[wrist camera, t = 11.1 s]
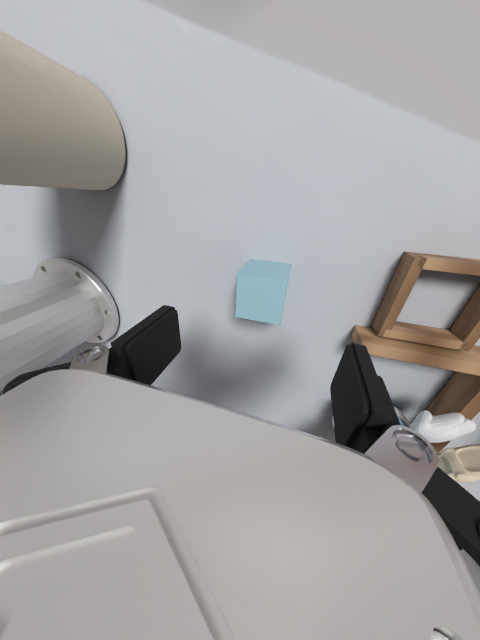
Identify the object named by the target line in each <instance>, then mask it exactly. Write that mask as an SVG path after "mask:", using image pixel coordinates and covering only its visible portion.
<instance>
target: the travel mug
mask: <svg viewBox="0 0 480 640" xmlns="http://www.w3.org/2000/svg"><path fill="white" fill-rule="evenodd" d="M124 164H125V142H124V136H123V132H122V128H121V125H120V122H119V119H118V117H117V115H116V113H115V111H114V109H113V107H112V105H111V103H110V102H109V100H108V99H107V98H106V96H105V95H104V94H103V93H102V91H101V90H100V89H99V88H98V87H97V86H96V85H94V84H93V83H92V82H90V81H89V80H87V79H85V78H83V77H82V76H80V75H78V74H76V73H75V72H73V71H71V70H69V69H68V68H66V67H64V66H62V65H61V64H59V63H57V62H55V61H54V60H52V59H50V58H48V57H47V56H45V55H43V54H41V53H40V52H38V51H36V50H34V49H33V48H31V47H29V46H27V45H26V44H24V43H22V42H20V41H19V40H17V39H15V38H13V37H12V36H10V35H8V34H6V33H5V32H3V31H1V30H0V184H3V185H20V186H36V187H53V188H69V189H85V190H106V189H109V188H111V187H112V186H114V185H115V184H116V183H117V182H118V180H119V179H120V177H121V175H122V172H123V169H124Z"/></svg>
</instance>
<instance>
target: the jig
mask: <svg viewBox="0 0 480 640" xmlns="http://www.w3.org/2000/svg"><path fill="white" fill-rule="evenodd" d="M422 269H425V270H434V271H442V272H451V273H460V274H468V275H477V276H480V260H478V259H469V258H459V257H449V256H440V255H430V254H420V253H410V252H404V254H403V256H402V258H401V260H400V263H399V265H398V267H397V269H396V272H395V274H394V276H393V278H392V281H391V283H390V285H389V287H388V290H387V292H386V294H385V296H384V299H383V301H382V303H381V306H380V308H379V310H378V312H377V315H376V317H375V319H374V321H373V324H372V326H373V328H368V327H362V326H356V325H355V327H354V330H353V332H352V338H353V341H354V343H355V344H360V345H365V346H366V347H367V350H368V353H369V355H374V356H379V357H385V358H390V359H395V360H400V361H405V362H411V363H416V364H421V365H426V366H431V367H437V368H442V369H447V370H452V371H455V373H454V374H453V375H452V377H451V378H450V379H449V380H448V382H447V383H446V384H445V386H444V387H443V388H442V389H441V391H440V392H439V393H438V395H437V396H436V397H435V398H434V400H433V401H432V402H431V404H430V405H429V406H428V407H427V409H426V411H429V412H430V413H431V415H432V416H437V415H443V414H448V413H453V412H454V413H461V414H462V415H463V416H464V417H465V418H466V419H470V420H472V419H473V418H474V417H475V416H476V415H477V414H478V413H479V412H480V346H474V344H475V343H476V342H477V341H478V339H479V338H480V285H479V287H478V288H477V290H476V291H475V293H474V294H473V296H472V297H471V299H470V300H469V302H468V303H467V305H466V306H465V308H464V309H463V311H462V312H461V314H460V315H459V316H458V318H457V319H456V321H455V322H454V324H453V325H452V327H451V328H450V330H447V329H440V328H434V327H428V326H422V325H416V324H409V323H403V322H397V321H396V320H397V318H398V316H399V314H400V312H401V310H402V308H403V306H404V304H405V302H406V300H407V298H408V296H409V294H410V292H411V290H412V288H413V286H414V284H415V282H416V280H417V278H418V276H419V274H420V272H421V270H422ZM450 441H451V440H450ZM450 441H445V442H440V443H431V444H432V446H433V447H434V448H435V450H436V452H437V453H439V452H440V451H441V450H442V449H443V448H444V447H445V446H446V445H447V444H448V443H449V442H450Z"/></svg>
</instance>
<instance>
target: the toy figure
mask: <svg viewBox="0 0 480 640" xmlns="http://www.w3.org/2000/svg"><path fill="white" fill-rule="evenodd" d="M394 409H395V411H396V414H397V416H398V419H399V421H400V424H401V426H406V427H407V425H408V426H409V428H411V429H413V430H415V431H416V432H418V433H419V434H421V435H422V436H423V437H425V438H426V439H427V440H428V441H429V442H430V443H440V442H445V441H450V440H453V439H456V438H458V437H460V436H462V435H465V434H468V433H471V432H473V431H474V430H475V429H476V424H475V423H474V422H472V421H471V420H470V419H466V418H465V417H464V416H463V415H462V414H461V413H454V412H453V413H448V414H443V415H437V416H432V415H431V413H430V412H429V411H426V410H425V411H421V412H420V413H419V414H418V415H417V417H416V418H415V420H414V422H413V423H411V424H410V423H409V421H408V419H407V418H406V417H405V415H404V414H403V413H402V412H401V411H400V410H398V409H397V408H396V407H394ZM332 424H333V429H334V419H333V417H332ZM406 424H407V425H406ZM334 432H335V429H334ZM438 457H439V465H438V467H439V468H440V469H441V470H443V471H444V472H445V473H446V474H447V475H448V476H450V477H451V478H452V479H453V480H454V481H461V482H472V481H475V480H479V479H480V444H477V445H467V446H462V447H457V448H447V449H444V450H442V451H441V453H438Z"/></svg>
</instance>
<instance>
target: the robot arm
mask: <svg viewBox="0 0 480 640" xmlns="http://www.w3.org/2000/svg"><path fill="white" fill-rule="evenodd" d="M118 324H119V316H118V311H117V307H116V305H115V302H114V300H113V298H112V296H111V295H110V293H109V291H108V290H107V288H106V287H105V286H104V284H103V283H102V282H101V281H100V280H99V279H98V278H97V277H96V276H95V275H94V274H93V273H92V272H90V271H89V270H88V269H86V268H85V267H83V266H82V265H80V264H78V263H76V262H74V261H72V260H68V259H65V258H54V259H49V260H45V261H43V262H41V263H40V264H39V265H38V266H37V267H36V270H35V272H34V278H31V279H27V280H24V281H20V282H17V283H13V284H9V285H0V640H480V502H479V501H478V500H477V499H476V498H475V497H473V496H472V495H471V494H470V493H469V492H468V491H466V490H465V489H464V488H463V487H462V486H460V485H459V484H458V483H457V482H456V481H454V480H453V479H452V478H451V477H450V476H448V475H447V474H446V473H445V472H444V471H443V470H441V469H440V468H439V467H438V465H439V457H438V453H437V452H436V450H435V448H434V447H433V446H432V444H431V443H430V442H429V441H428V440H427V439H426V438H425V437H423V436H422V435H421V434H419V433H418V432H416V431H415V430H413V429H411V428H408V427H406V426H401V424H400V421H399V419H398V416H397V414H396V411H395V409H394V406H393V404H392V401H391V399H390V396H389V394H388V391H387V389H386V386H385V384H384V381H383V379H382V378H381V377H380V376H377V374H376V371H375V369H374V366H373V363H372V361H371V358H370V355H369V353H368V350H367V347H366V346H365V345H360V344H355V343H352V344H351V345H347V346H346V348H345V350H344V353H343V355H342V358H341V360H340V363H339V365H338V368H337V371H336V373H335V376H334V378H333V381H332V383H331V389H330V390H331V400H332V410H333V419H334V429H335V439H336V442H333V441H330V440H328V439H324V438H321V437H318V436H315V435H312V434H309V433H306V432H303V431H300V430H297V429H293V428H290V427H287V426H284V425H281V424H277V423H274V422H271V421H267V420H264V419H261V418H258V417H254V416H251V415H248V414H244V413H241V412H238V411H235V410H231V409H228V408H225V407H221V406H218V405H215V404H211V403H208V402H205V401H201V400H198V399H195V398H191V397H188V396H185V395H181V394H178V393H174V392H171V391H168V390H164V389H161V388H157V387H154V386H150V385H151V384H152V383H153V382H154V381H155V380H156V379H157V377H158V376H159V375H160V374H161V373H162V372H163V371H164V369H165V368H166V367H167V366H168V365H169V364H170V362H171V361H172V360H173V359H174V358H175V357H176V356H177V354H178V353H179V352H180V350H181V340H180V331H179V322H178V313H177V310H175V308H174V307H171V306H166V305H164V306H162V307H161V308H159V309H158V310H156V311H155V312H154V313H152V314H151V315H149V316H148V317H146V318H145V319H144V320H142V321H141V322H139V323H138V324H137V325H135V326H134V327H132V328H131V329H130V330H128V331H127V332H125V333H124V334H122V335H121V336H120V337H118V338H117V339H115V340H114V341H113V342H111V346H112V347H111V348H110V349H108V348H107V347H106V346H102V345H96V346H91V347H87V348H85V349H82V350H81V351H79V352H78V353H77V354H75V356H74V357H73V359H72V362H69V363H65V364H61V365H57V366H52V367H48V368H44V367H45V366H47V365H48V364H50V363H52V362H53V361H55V360H56V359H58V358H59V357H61V356H63V355H64V354H66V353H67V352H69V351H70V350H72V349H74V348H75V347H77V346H78V345H80V344H81V343H83V342H84V341H85V342H90V343H101V342H105V341H106V340H108V339H109V338H111V337H112V336H113V335H114V334H115V333H116V331H117V329H118ZM42 368H44V369H42Z"/></svg>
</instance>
